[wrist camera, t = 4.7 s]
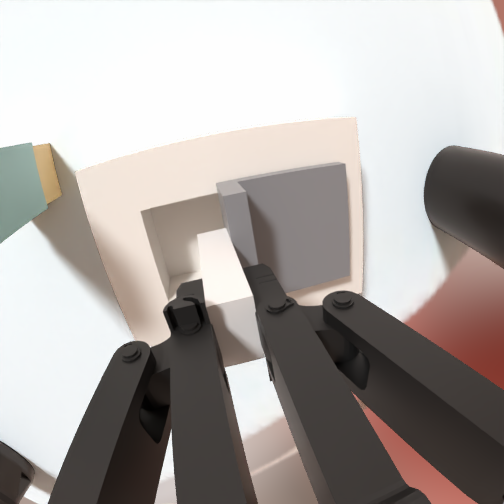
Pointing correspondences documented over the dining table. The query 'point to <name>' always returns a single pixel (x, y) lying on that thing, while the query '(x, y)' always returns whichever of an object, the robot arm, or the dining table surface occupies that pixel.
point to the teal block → (25, 185)
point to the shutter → (291, 223)
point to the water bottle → (468, 198)
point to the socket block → (201, 208)
